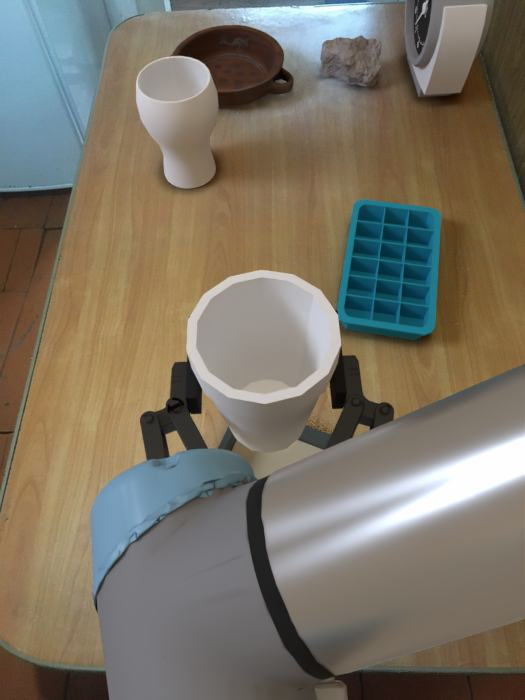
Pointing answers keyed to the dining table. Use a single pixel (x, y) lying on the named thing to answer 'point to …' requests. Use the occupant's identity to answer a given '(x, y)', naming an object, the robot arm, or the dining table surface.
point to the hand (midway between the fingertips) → (263, 323)
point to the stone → (352, 60)
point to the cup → (180, 116)
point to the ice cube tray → (390, 270)
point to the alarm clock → (444, 42)
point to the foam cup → (264, 354)
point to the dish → (239, 62)
